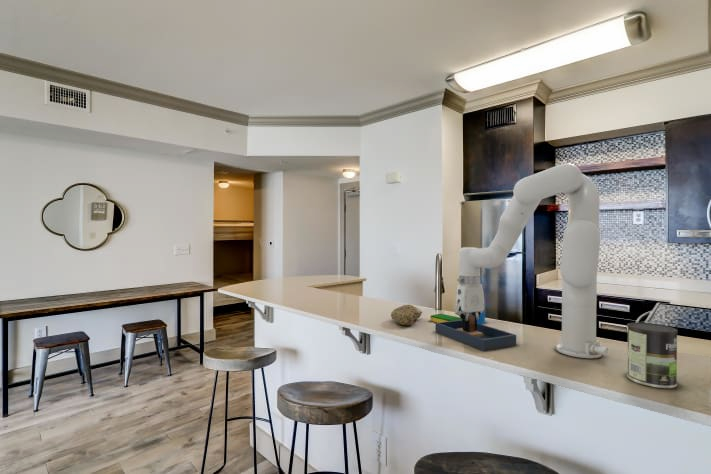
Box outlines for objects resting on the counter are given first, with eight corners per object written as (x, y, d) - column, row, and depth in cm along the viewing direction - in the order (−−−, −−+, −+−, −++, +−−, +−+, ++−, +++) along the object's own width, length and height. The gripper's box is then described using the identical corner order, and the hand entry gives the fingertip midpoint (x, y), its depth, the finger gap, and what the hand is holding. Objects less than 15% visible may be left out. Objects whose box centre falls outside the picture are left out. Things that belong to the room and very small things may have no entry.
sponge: (402, 319, 173) (378, 317, 157) (406, 302, 173) (383, 299, 157) (427, 328, 165) (405, 328, 149) (431, 311, 165) (410, 309, 149)
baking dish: (516, 345, 129) (516, 334, 129) (484, 351, 122) (484, 340, 122) (464, 328, 152) (464, 319, 152) (435, 332, 145) (435, 322, 145)
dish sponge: (456, 327, 153) (456, 321, 153) (429, 320, 164) (429, 315, 164) (466, 324, 158) (466, 318, 158) (440, 318, 168) (440, 313, 168)
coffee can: (682, 382, 97) (683, 327, 96) (669, 392, 91) (670, 334, 90) (634, 370, 105) (635, 320, 105) (620, 378, 99) (620, 325, 99)
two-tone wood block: (483, 337, 136) (483, 316, 136) (472, 338, 134) (472, 317, 134) (466, 331, 144) (466, 311, 144) (455, 332, 142) (455, 313, 142)
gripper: (459, 283, 132) (459, 335, 132) (493, 280, 139) (493, 330, 139) (445, 280, 139) (445, 330, 139) (479, 278, 146) (479, 325, 146)
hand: (469, 329), depth 139 cm, fingers closed on two-tone wood block, 2 cm apart
